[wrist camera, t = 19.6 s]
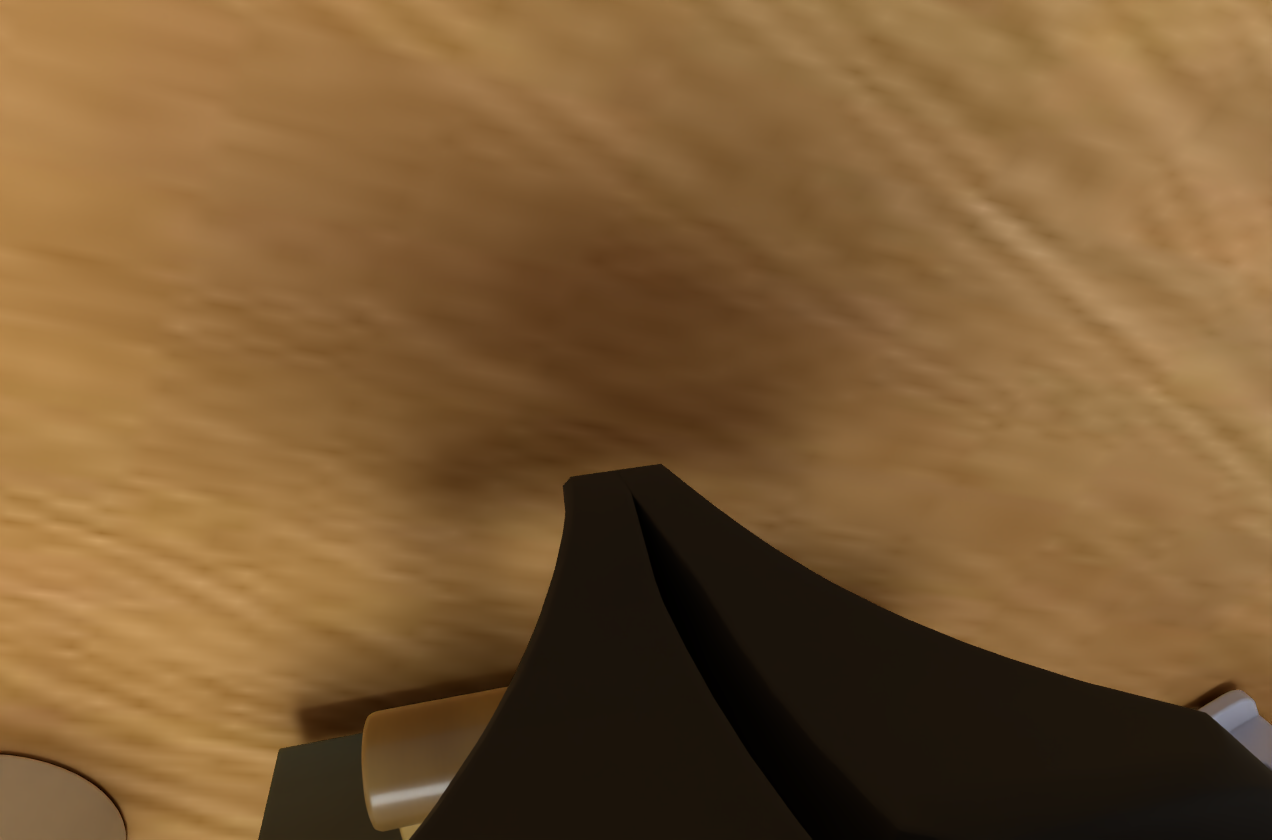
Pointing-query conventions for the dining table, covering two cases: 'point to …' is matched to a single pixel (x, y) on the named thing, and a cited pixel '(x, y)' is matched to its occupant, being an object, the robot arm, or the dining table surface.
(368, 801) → the drawer
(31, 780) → the candle
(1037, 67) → the dining table surface
